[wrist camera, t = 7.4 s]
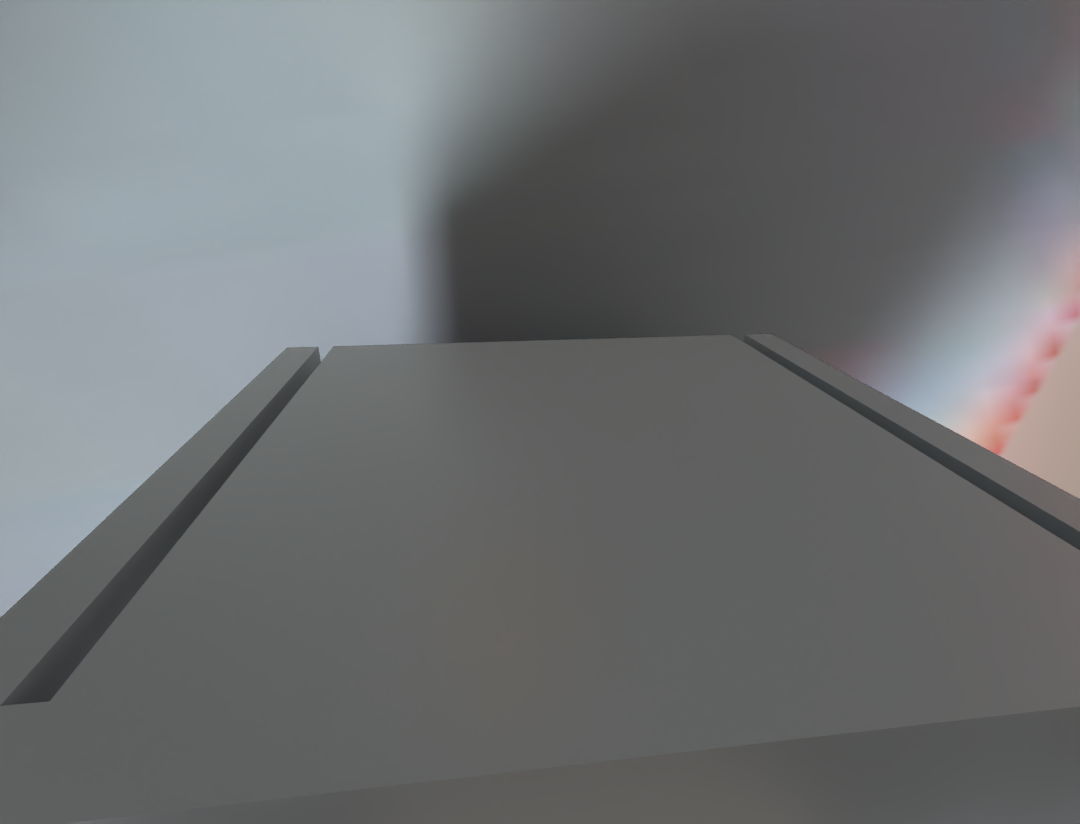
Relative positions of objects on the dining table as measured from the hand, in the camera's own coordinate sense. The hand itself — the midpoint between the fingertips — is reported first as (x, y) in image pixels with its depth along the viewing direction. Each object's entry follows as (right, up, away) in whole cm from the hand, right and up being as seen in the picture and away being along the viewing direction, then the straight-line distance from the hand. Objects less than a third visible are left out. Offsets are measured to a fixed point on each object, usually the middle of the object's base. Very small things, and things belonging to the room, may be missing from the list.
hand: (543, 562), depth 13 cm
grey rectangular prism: (0, 0, +1) cm, 1 cm away
